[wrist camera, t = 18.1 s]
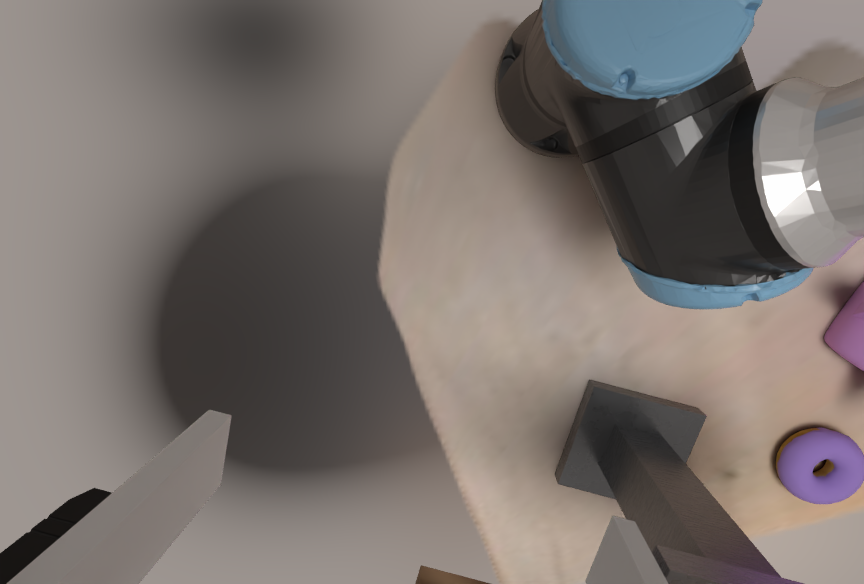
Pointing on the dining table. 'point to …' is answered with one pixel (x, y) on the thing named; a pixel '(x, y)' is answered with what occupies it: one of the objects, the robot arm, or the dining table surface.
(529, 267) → the dining table surface
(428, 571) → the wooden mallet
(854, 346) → the teakettle
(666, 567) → the pedestal
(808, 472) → the donut
